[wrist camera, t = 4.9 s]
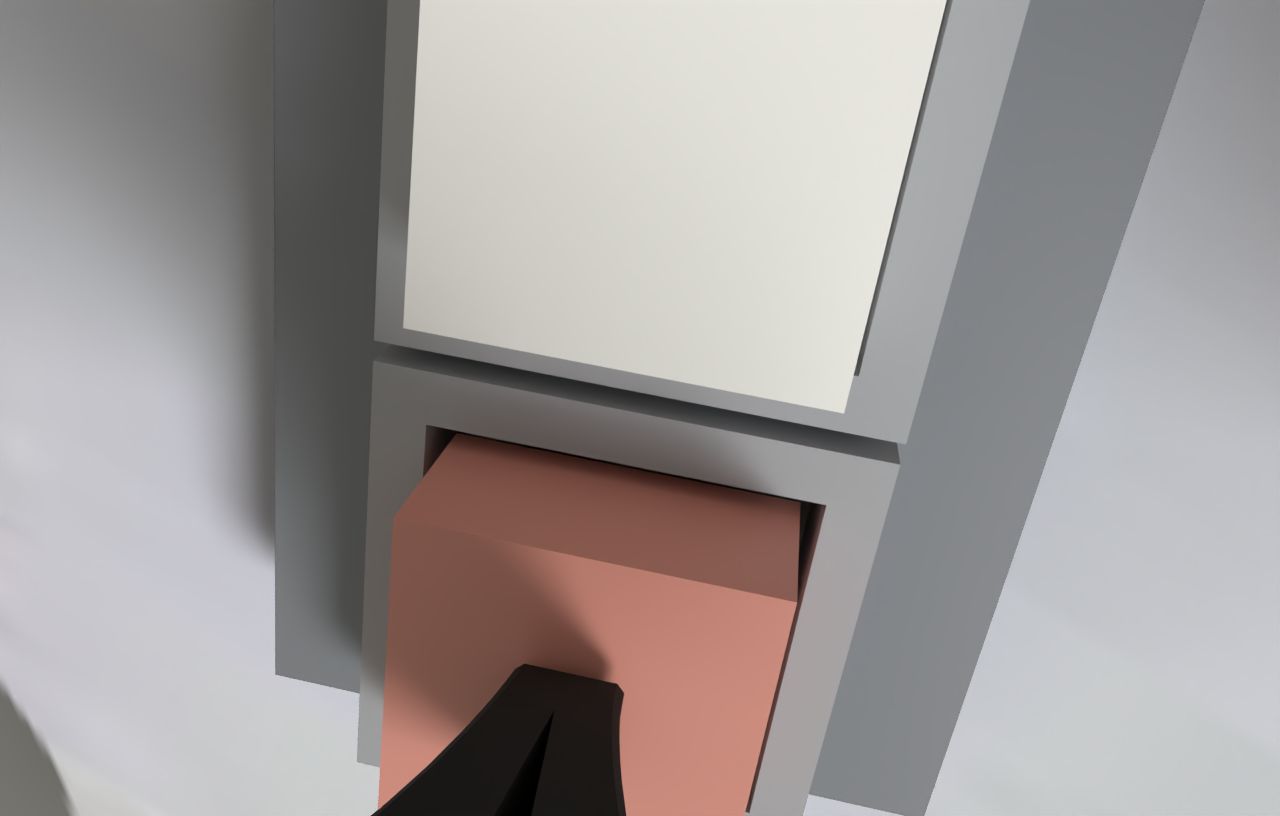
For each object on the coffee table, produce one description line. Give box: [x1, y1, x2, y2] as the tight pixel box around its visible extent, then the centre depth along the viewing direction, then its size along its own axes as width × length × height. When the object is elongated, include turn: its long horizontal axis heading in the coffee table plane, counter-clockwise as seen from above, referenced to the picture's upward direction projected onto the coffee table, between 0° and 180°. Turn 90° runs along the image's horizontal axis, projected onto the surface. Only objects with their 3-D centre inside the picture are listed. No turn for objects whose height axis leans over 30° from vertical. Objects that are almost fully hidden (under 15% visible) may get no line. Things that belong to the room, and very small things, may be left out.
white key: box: [403, 0, 947, 413], centre depth 12 cm, size 5×5×2 cm
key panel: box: [274, 0, 1205, 816], centre depth 14 cm, size 12×23×4 cm, turn 172°
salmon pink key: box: [378, 433, 800, 816], centre depth 15 cm, size 5×5×2 cm
